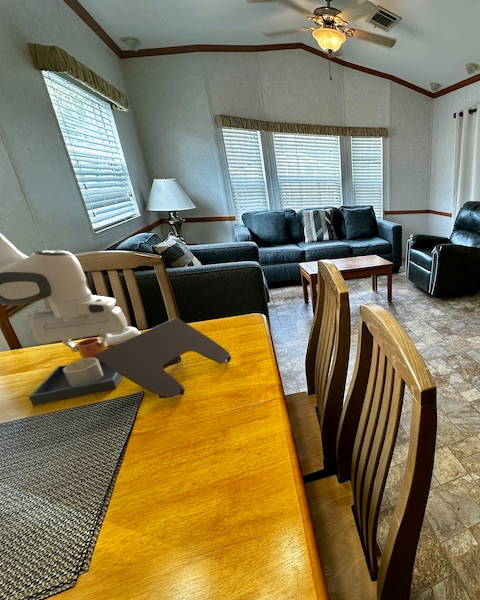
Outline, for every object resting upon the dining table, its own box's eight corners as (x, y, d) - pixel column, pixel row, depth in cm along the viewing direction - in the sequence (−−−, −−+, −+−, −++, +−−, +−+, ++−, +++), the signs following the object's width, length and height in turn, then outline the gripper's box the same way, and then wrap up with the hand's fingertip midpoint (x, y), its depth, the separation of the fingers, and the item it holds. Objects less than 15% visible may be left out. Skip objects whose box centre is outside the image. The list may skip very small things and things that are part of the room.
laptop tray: (166, 423, 81) (170, 399, 77) (91, 375, 82) (91, 349, 78) (234, 371, 101) (240, 350, 97) (173, 334, 103) (176, 311, 99)
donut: (143, 331, 114) (108, 336, 111) (141, 322, 113) (105, 327, 109) (135, 344, 106) (96, 350, 102) (132, 335, 104) (92, 340, 101)
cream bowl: (64, 389, 83) (57, 374, 81) (76, 375, 89) (70, 361, 87) (98, 383, 86) (92, 368, 84) (107, 369, 91) (102, 355, 90)
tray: (32, 405, 78) (28, 396, 77) (61, 374, 90) (57, 366, 89) (116, 388, 84) (112, 380, 83) (132, 361, 96) (129, 353, 96)
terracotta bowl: (77, 359, 95) (73, 347, 94) (85, 351, 100) (80, 339, 98) (99, 356, 97) (95, 344, 96) (105, 348, 102) (101, 336, 100)
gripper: (18, 316, 86) (38, 361, 91) (114, 305, 94) (128, 347, 99) (31, 307, 92) (50, 350, 97) (121, 297, 99) (134, 338, 104)
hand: (90, 348), depth 98 cm, fingers closed on terracotta bowl, 5 cm apart
